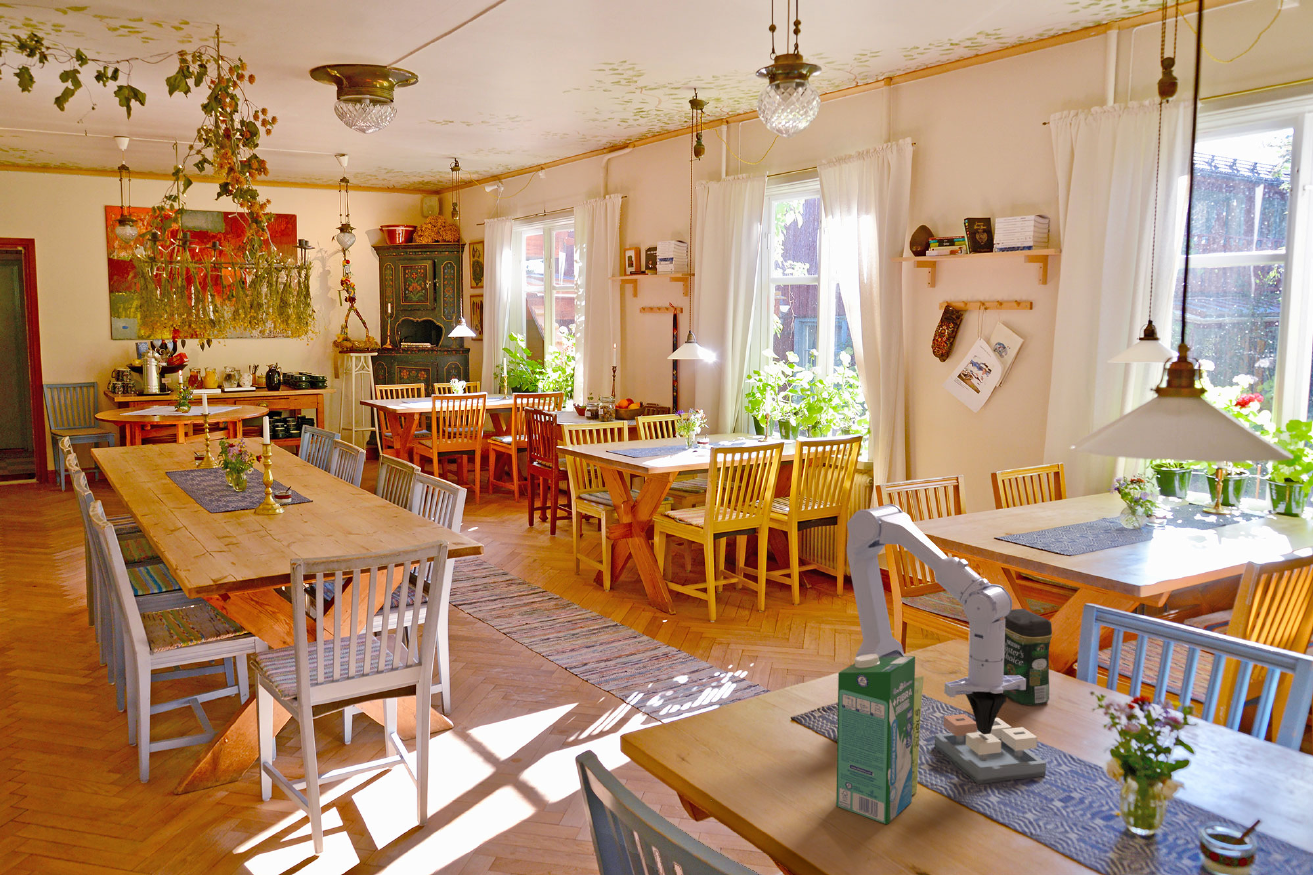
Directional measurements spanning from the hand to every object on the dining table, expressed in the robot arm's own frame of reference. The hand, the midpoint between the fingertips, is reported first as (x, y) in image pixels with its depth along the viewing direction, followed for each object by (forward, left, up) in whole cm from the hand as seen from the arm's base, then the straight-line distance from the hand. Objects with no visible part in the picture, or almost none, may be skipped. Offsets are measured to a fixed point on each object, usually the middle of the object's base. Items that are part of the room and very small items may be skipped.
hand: (983, 731), depth 159 cm
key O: (+7, +8, -6) cm, 12 cm away
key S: (0, 0, -5) cm, 5 cm away
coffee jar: (+27, +28, -8) cm, 39 cm away
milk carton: (-23, -6, -8) cm, 25 cm away
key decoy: (0, +8, -5) cm, 9 cm away
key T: (+7, 0, -5) cm, 9 cm away
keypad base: (+3, +4, -8) cm, 9 cm away
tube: (-17, -2, -8) cm, 19 cm away
